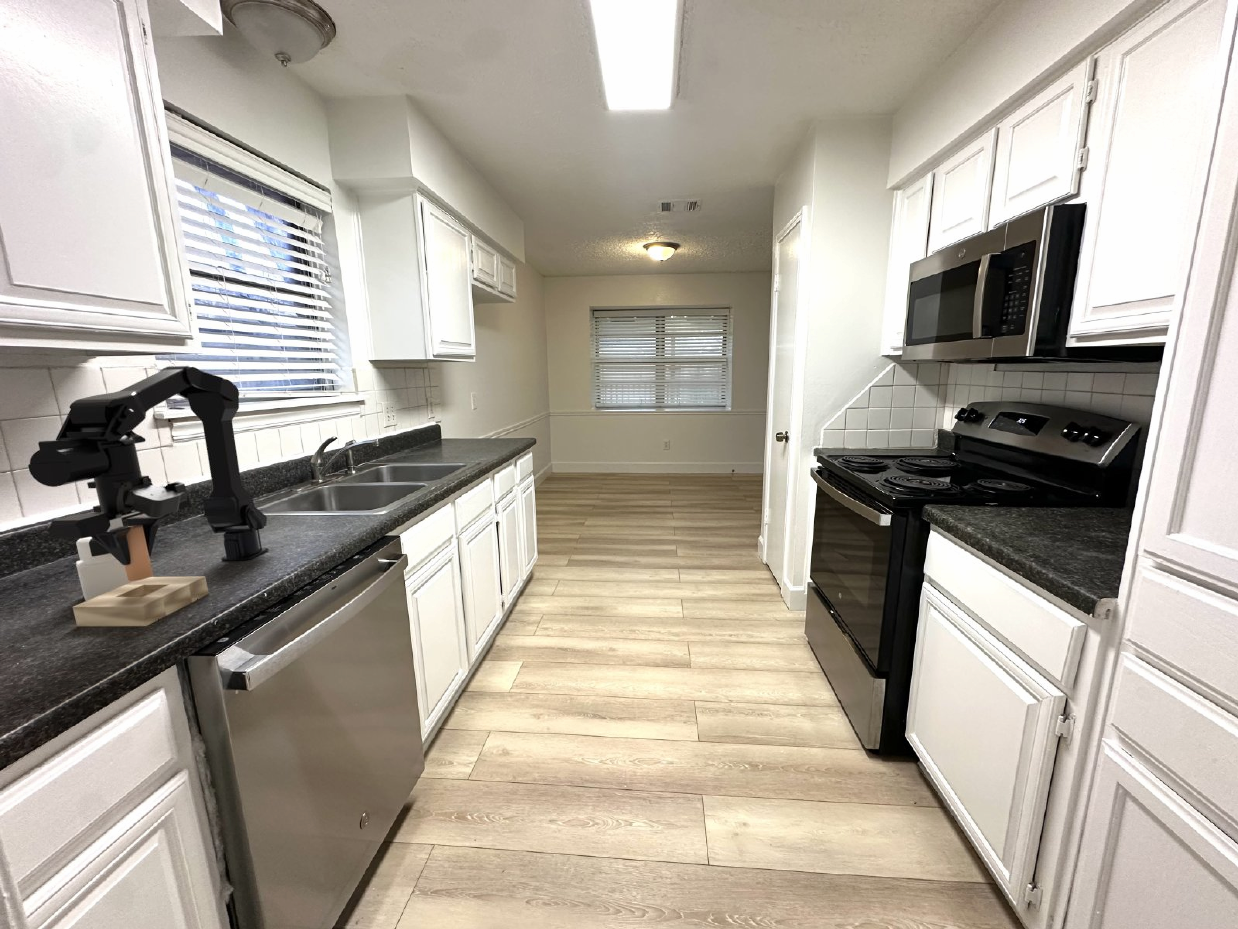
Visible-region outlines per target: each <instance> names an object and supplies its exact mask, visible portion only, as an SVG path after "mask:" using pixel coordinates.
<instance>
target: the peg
mask: <svg viewBox="0 0 1238 929" xmlns="http://www.w3.org/2000/svg"><path fill="white" fill-rule="evenodd" d="M127 527H131V529H130V531H129V532H128V534H127V536H126V537H127V542H128V547H129V552H130V562H131V563H130V564H129V565H125V569H126V573H127V578H128V581H137V580H142V579H146V578H149V577H153V576H154V572H153V567H152V562H151V558H150V557H149V553H148V549H147V544H146V540H145V535H144V531H143V526H142V525H135V526H127Z"/></svg>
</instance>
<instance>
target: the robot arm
mask: <svg viewBox="0 0 1238 929" xmlns="http://www.w3.org/2000/svg"><path fill="white" fill-rule="evenodd" d="M176 395H177V396H180V397H182V398H184V399H185V400H187V401H188V404H189V409H190V410H191V412H193V413H194V415H195V416H196V417H197V418H198V419H199V420H200V421H201V423H202V427H203V434H204V441H205V448H206V451H207V452H206V455H207V459H208V464H209V472H210V478H211V485H212V490H211V491H210V493H209V495H208V497H203V499H202V506H203V508H204V509H203V510H204V514H203V517H204V518H206V521H207V523H208V524H209V526H210V528H211V530H212V532H213V533H214V534H221V533H223V534H222V535H223V546H224V550H225V556H222V557H220V560H221V561H247V560H251V559H254V558H255V557H257V556H259V555H261V554H264V553H265V552H268V551H269V550H270V548H269V547H262V541H261V540H262V539H261V535H260V530H263V529H265V527H266V526H267V519H268V517H267V516H266V514H264V513H263V512H262V511H261V510H260V509H258V508H257V507H256V506H255V502H254V499H253V496H252V494H251V493H250V492H249V491H248V490H247V489H246V488H245V487H244V486H243V484H242V481H241V479H242V478H241V474H240V467H239V460H238V459H239V458H238V453H237V447H236V440H235V433H234V426H233V425H234V424H233V419H234V418H235V416H236V414H237V412H238V411H239V409H240V399H239V398H240V397H239V396H240V391H239V388H238V387H237V384H236V385H235V384H234V383H233V382H232V381H231V380H229V379H227V378H224V377H221V376H218V375H215V374H212V373H208V372H205V371H203V370H200V369H199V368H197V367H195V366H192V365H170V366H165V367H164V368H162V369H161V371H158V372H155V373H154V374H152V375H150V376H148V377H146V378H144V379H141V380H140V381H138V382H135V383H133V384H131V385H129V386H127V387H125V388H123V389H121V390H118V391H115V392H109V393H103V394H102V393H101V394H95V395H91V396H86V397H83V398H79V399H76V400H74V401H72V403H71V404H70V405H69V409H70V410H69V412H68V414H67V415H66V418H65V420H64V422H63V423H62V426H61V428H60V430H59V431H58V434H57V435H56V438H55V440H41V441H40V440H39V442H38V443H37V445H38V450H37V451H35V452H34V453H33V454H32V455H31V458H30V459H29V464H28V465H27V467H28V471H29V472H30V475H31V476H32V477H33V479H35V480H36V482H38V483H40V484H41V485H44V486H46V487H52V488H55V487H56V488H57V487H61V486H65V485H70V484H74V483H79V482H83V481H88V480H92V481H88V482H86V484H87V487H88V489H95V490H96V495H97V500H98V503H99V504H98V505H95V506H92V510H93V513H86V514H85V513H83V514H81V513H80V514H79V513H78V514H77V513H76V514H72V515H70V516H69V515H68V516H65V517H60V518H57V519H53V520H52V521H51V522H50V523H49V525H48V527H47V531H48V535H49V538H50V539H51V540H53V539H55V540H56V539H57V540H62V539H64V540H65V539H67V540H68V539H69V540H71V539H73V540H74V539H81V538H87V537H92V538H93V539H94V540H95V541H97V542H98V543H99V544H101V545H102V546H103V547H104V548H105V549H106V550H108V551H109V552H110V553H111V554H112V555H113V556H114V557H115V558H116V559H117V560H118V561H119V562H120V563H121V564H122V565H129V564H130V563H131V562H130V552H129V547H128V542H127V537H126V536H127V534H128V532H129V531H130V529H131V527H128V526H135V525H142V526H143V531H144V535H145V540H146V544H147V549H148V553H149V558H150V557H151V556H152V553H153V548H154V545H155V544H154V543H155V539H156V535H157V533H158V530H159V527H160V525H161V524H162V523H163V522H164V521H165V520H166V519H168V518H171V516H172V513H177V512H178V511H180V510H183V509H186V508H188V507H191V500H190V496H188V491H187V487H186V485H185V483H183V482H180V481H173V482H169V483H167V484H166V485H159V486H157V485H154V484H153V482H152V479H151V478H150V476H149V475H142V471H141V466H140V461H139V457H138V452H137V447H136V444H141V443H145V442H146V440H147V439H146V438H145V437H143V436H142V435H139V434H137V433H136V432H134V431H133V430H135V428H137V427H138V426H139V425H140V424H142V423H143V421H145V420H146V418H147V416H146V415H147V412H149V410H151V409H152V408H155V407H157V406H158V405H159V404H162V403H163V402H165V401H167V400H169V399H171V398H173V397H174V396H176ZM123 521H126V523H127V525H128V526H124V523H123Z"/></svg>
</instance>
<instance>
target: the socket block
mask: <svg viewBox="0 0 1238 929" xmlns="http://www.w3.org/2000/svg"><path fill="white" fill-rule="evenodd" d="M207 595H209V589H208V584H207V579H206V576H204V575H203V576H198V575H197V576H151V577H149V578H146V579H142V580H137V581H133V582H131V583H129V584H126V585H124V586H121V587H119V588H117V589H114V590H112V591H109V592H107V593H105V594H102V595H100V596H97V597H95V598H93V599H90V600H88V601H86V600H85V601H83V602H81V603H79V604H76V605H74V606H72V610H73V614H74V618H75V623H76V626H77V627H147V626H149V625H151V624H153V623H156V622H157V621H159V620H160V619H163V618H165V617H167V616H169V615H171V614H172V613H175V612H176V611H178V610H180V609H182V608H184V607H186V606H188V605H190V604H191V603H194V602H196V601H198V600H200V599H202V598H203V597H206V596H207ZM197 599H198V600H197ZM158 619H159V620H158Z"/></svg>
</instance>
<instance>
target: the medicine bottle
mask: <svg viewBox="0 0 1238 929" xmlns="http://www.w3.org/2000/svg"><path fill="white" fill-rule="evenodd" d="M75 544H76V548H77V552H78V556H79V560H77V561H76V562H75V566H76V569H77V575H78V579H79V582H80V587H81V591H82V594H83V597H84V600H85V601H88V600H90V599H93V598H95V597H97V596H100V595H102V594H105V593H107V592H109V591H112V590H114V589H117V588H119V587H121V586H124V585H126V584H129V583H131V582H133V581H128V578H127V573H126V569H125V565H122V564H121V563H120V562H119V561H118V560H117V559H116V558H115V557H114V556H113V555H112V554H111V553H110V552H109V551H108V550H106V549H105V548H104V547H103V546H102V545H101V544H99V543H98V542H97V541H95V540H94V539H93V538H92V537H87V538H78V540H77V541H76V542H75Z"/></svg>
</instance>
